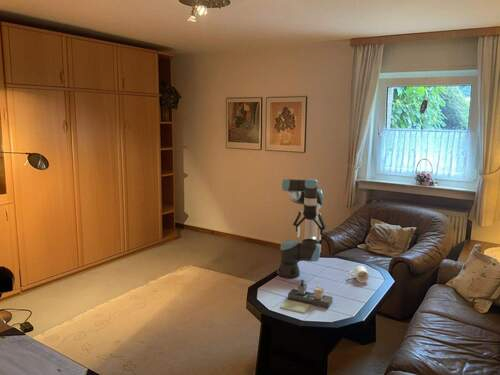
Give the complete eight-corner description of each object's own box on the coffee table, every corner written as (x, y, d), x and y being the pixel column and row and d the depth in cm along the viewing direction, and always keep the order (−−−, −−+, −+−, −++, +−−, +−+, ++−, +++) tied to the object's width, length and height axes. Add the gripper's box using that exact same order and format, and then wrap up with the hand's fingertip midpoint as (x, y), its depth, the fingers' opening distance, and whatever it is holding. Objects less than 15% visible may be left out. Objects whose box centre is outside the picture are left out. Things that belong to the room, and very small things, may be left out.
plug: (313, 302, 231) (314, 289, 229) (315, 299, 234) (316, 286, 233) (320, 304, 229) (321, 290, 228) (322, 301, 233) (323, 288, 231)
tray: (280, 308, 225) (280, 306, 225) (286, 301, 234) (286, 299, 234) (304, 314, 219) (304, 312, 219) (310, 306, 228) (310, 304, 228)
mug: (365, 277, 272) (366, 265, 271) (368, 283, 263) (369, 271, 261) (347, 276, 274) (348, 264, 272) (349, 282, 264) (350, 270, 262)
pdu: (287, 300, 236) (288, 280, 234) (292, 295, 243) (293, 276, 241) (328, 309, 225) (329, 288, 223) (332, 303, 232) (333, 283, 230)
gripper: (288, 203, 248) (287, 237, 251) (328, 207, 237) (327, 242, 240) (292, 201, 254) (291, 234, 258) (332, 205, 243) (330, 239, 247)
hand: (308, 238), depth 249 cm, fingers open, 13 cm apart
